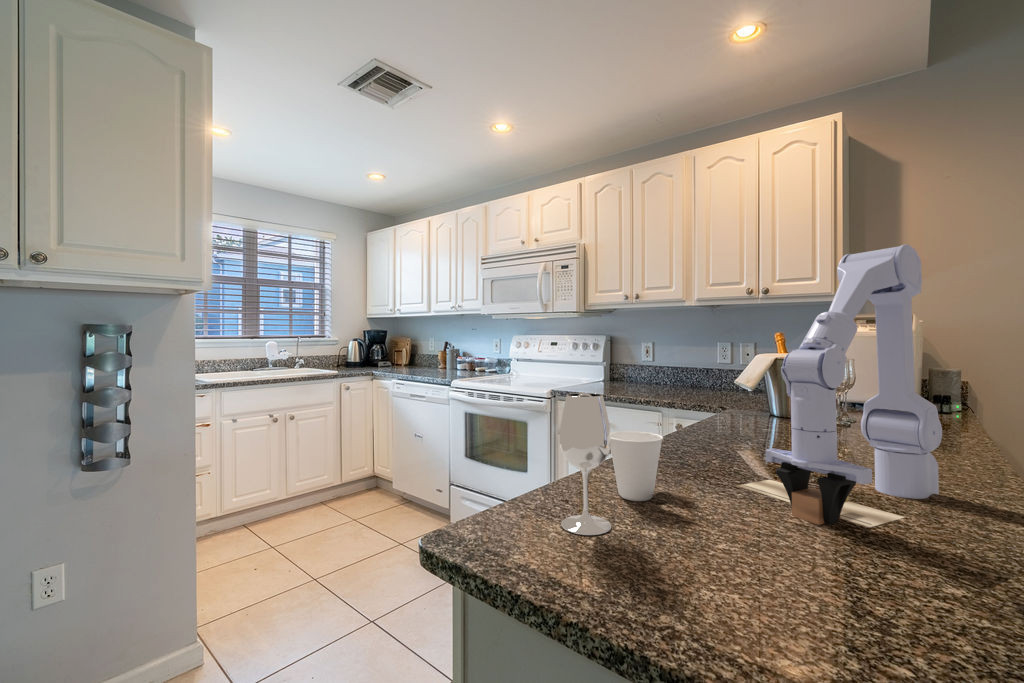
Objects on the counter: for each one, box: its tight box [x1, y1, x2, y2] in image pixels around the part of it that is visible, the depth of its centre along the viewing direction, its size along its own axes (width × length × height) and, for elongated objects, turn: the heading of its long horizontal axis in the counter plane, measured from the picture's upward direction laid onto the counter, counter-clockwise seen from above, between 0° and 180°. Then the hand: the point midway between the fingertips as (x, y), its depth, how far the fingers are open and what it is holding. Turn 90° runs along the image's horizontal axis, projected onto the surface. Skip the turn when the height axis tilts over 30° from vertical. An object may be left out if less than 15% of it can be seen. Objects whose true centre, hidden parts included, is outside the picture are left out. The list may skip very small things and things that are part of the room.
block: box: [791, 487, 850, 526], centre depth 70 cm, size 10×4×5 cm, turn 114°
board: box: [736, 479, 906, 528], centre depth 77 cm, size 9×22×2 cm, turn 24°
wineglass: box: [558, 392, 612, 536], centre depth 71 cm, size 8×8×20 cm
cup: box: [610, 430, 664, 502], centre depth 85 cm, size 10×10×11 cm
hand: (815, 520), depth 69 cm, fingers closed on block, 4 cm apart
